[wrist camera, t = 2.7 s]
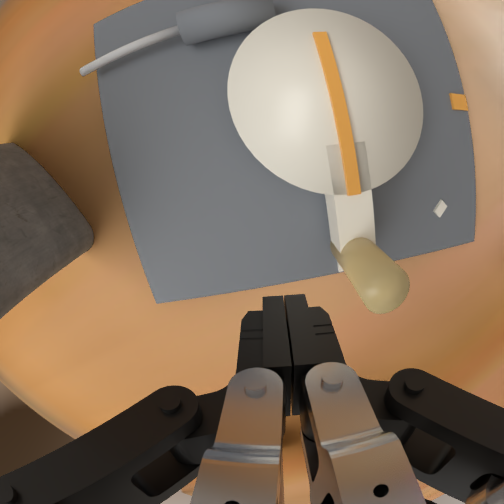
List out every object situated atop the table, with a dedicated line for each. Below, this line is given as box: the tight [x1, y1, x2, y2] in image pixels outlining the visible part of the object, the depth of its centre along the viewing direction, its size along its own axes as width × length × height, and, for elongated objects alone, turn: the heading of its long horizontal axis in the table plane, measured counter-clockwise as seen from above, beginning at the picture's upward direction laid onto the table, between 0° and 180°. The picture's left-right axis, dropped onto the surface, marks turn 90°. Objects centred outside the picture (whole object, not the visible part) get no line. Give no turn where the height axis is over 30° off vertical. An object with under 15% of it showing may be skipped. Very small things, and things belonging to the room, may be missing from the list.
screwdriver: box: [80, 0, 276, 76], centre depth 13 cm, size 14×3×3 cm
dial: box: [227, 8, 423, 314], centre depth 13 cm, size 17×12×7 cm
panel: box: [94, 0, 476, 304], centre depth 17 cm, size 25×29×2 cm
